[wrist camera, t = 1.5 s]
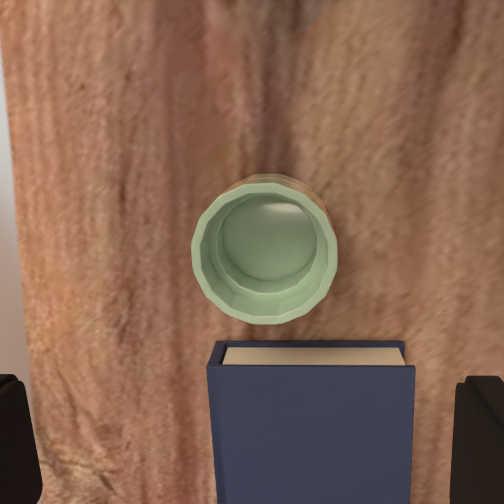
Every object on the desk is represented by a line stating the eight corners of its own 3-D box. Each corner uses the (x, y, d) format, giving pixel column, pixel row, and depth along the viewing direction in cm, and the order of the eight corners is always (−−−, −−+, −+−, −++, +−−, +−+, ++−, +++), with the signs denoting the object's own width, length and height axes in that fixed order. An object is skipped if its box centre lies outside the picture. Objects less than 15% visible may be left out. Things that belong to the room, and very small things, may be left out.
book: (216, 340, 29) (206, 366, 26) (403, 340, 28) (415, 367, 25) (231, 541, 33) (223, 584, 30) (395, 548, 32) (406, 594, 29)
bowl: (204, 175, 27) (185, 186, 22) (331, 170, 26) (337, 180, 21) (213, 293, 28) (197, 325, 24) (332, 291, 28) (338, 324, 23)
